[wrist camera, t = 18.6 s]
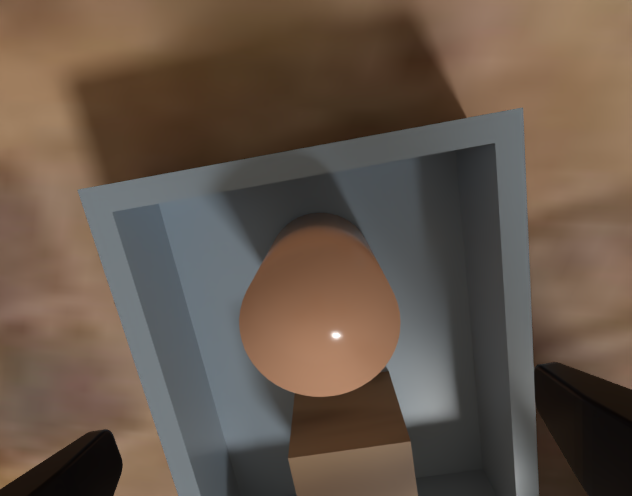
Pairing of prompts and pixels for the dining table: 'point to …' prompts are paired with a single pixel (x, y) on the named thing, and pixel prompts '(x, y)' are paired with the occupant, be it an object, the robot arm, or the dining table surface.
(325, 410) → the walnut block
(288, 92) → the dining table surface
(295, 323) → the terracotta capsule
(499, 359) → the tote
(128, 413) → the dining table surface
